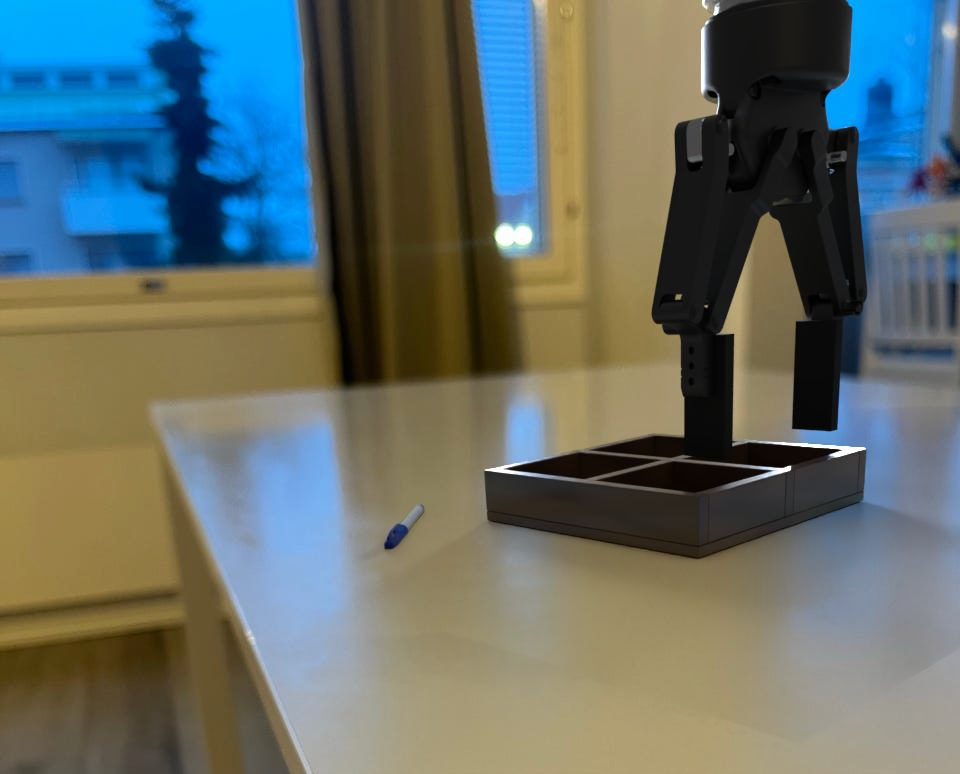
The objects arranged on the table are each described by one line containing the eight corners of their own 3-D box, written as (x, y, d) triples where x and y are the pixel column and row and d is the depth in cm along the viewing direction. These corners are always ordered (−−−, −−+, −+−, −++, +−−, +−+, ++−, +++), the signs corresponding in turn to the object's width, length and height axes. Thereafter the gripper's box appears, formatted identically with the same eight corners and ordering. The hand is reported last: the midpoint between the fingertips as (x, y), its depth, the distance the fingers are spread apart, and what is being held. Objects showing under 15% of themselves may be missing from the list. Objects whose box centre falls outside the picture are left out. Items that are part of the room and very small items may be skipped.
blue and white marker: (398, 552, 56) (396, 535, 56) (383, 553, 56) (381, 536, 56) (426, 512, 66) (424, 497, 65) (412, 513, 66) (411, 498, 66)
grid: (653, 476, 71) (653, 433, 70) (863, 500, 59) (866, 448, 58) (486, 520, 61) (483, 470, 60) (698, 558, 49) (698, 497, 48)
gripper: (828, 46, 61) (812, 414, 68) (570, 0, 47) (585, 467, 54) (950, 15, 55) (919, 419, 62) (699, -47, 41) (697, 480, 49)
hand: (764, 442), depth 58 cm, fingers open, 10 cm apart
